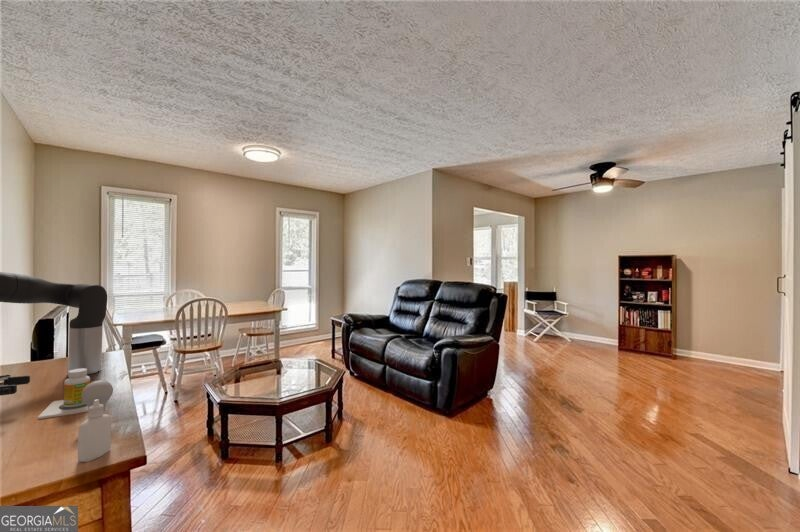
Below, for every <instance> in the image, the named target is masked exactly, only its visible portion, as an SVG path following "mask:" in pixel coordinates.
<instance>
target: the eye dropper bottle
mask: <svg viewBox="0 0 800 532" xmlns="http://www.w3.org/2000/svg"><path fill="white" fill-rule="evenodd" d="M103 410H104V405H103V404H100V403H99V399H96V400H94V403H93V405H92V406H90V407H89V412H87V413H88V415H87V416H88V417H87V418H86V419H85V420H84V421H82V423H81V424H79V427H78V440H77V461H78V462H81V463H82V462H83V463H88V462H91V461H94V460H96V459H98V458H100V457H103V456H104V455H105V454H106V453H108V452H109V451H110V449H111V446H112V445H111V443H112V440H111V439H112V416H111V415H110V414H106V413H105V414H103Z"/></svg>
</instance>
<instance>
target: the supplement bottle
mask: <svg viewBox="0 0 800 532" xmlns="http://www.w3.org/2000/svg"><path fill="white" fill-rule="evenodd" d="M86 374H87V369H85V368H81V369H74V370H70V371H68V370H67V377H68V378H67V379H65V380H64V383H63V384H64V386H63V387H64V388H63V400H64V406H65V407H77V406H81V405H84V404H85V403H84V401H83V400H82V391H83V389H84V388H85V387H86V386H87V385H88V384H90V383H91V377H90V376H89V375H88V374H87V375H86Z"/></svg>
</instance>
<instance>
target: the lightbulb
mask: <svg viewBox="0 0 800 532" xmlns="http://www.w3.org/2000/svg"><path fill="white" fill-rule="evenodd" d="M113 393H114V388H113V384H112V383H111V382H109V381H108V380H105V379H104V380H101V379H99V380H94V381H92V382H90V384H88V385H87V386H86V387H85V388H84V389H83V391H82V400H83V401H84V403H85V404H86V405H87V407H88V410H89V407H90V406H92V405H93V403H94V400H96V399H99V403H100V404H103V405H104V410H103V414H104V413H105V411H106V406H107V404H108V401H109V400H110V399H111V397H112V396H113Z"/></svg>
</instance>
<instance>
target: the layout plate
mask: <svg viewBox="0 0 800 532" xmlns="http://www.w3.org/2000/svg"><path fill="white" fill-rule="evenodd" d="M88 412H89V410H88V407H87V405H86V404H84V405H81V406H77V407H65V406H64V399H60V400H53V401H52V402H51V403H50V404H49V405H48V406H47V407H46V408H45V409H44V410H43V411H42V412H41V413H40V414H39V415H38V416H37V420H42V419H48V418H55V417H62V416H63V417H64V416H68V415H69V416H70V415H75V414H82V413H88Z"/></svg>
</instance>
